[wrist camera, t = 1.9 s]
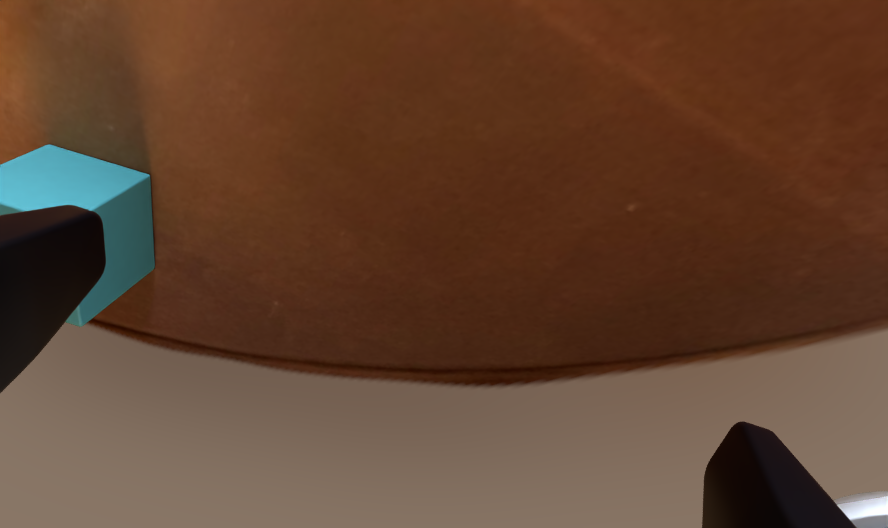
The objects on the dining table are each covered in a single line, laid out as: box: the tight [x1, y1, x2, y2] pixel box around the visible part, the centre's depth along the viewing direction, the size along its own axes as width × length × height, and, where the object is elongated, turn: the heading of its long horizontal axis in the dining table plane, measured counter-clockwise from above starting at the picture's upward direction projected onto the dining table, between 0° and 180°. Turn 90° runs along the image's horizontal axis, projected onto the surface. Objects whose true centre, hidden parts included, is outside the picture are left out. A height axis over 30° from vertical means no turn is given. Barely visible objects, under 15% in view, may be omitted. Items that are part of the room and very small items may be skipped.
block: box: [0, 144, 155, 327], centre depth 22 cm, size 4×4×4 cm
